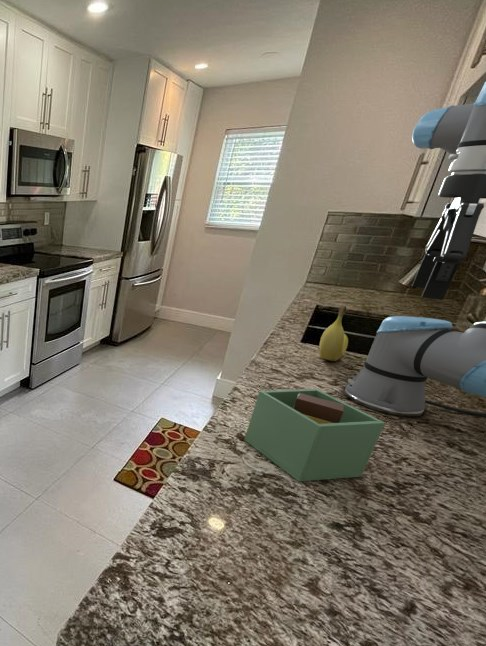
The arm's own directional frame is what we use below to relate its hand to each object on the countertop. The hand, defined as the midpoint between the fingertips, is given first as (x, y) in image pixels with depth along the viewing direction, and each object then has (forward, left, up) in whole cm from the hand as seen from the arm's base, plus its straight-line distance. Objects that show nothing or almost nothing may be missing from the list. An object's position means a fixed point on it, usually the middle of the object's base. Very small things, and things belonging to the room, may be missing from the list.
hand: (425, 292), depth 80 cm
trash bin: (+22, +5, -33) cm, 40 cm away
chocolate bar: (+22, +6, -32) cm, 39 cm away
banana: (-37, -42, -33) cm, 65 cm away
